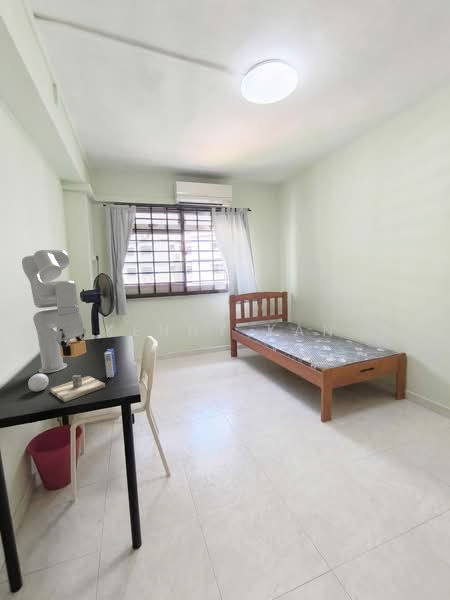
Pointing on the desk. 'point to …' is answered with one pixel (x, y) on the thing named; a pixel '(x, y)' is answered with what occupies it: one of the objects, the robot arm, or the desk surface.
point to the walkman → (110, 363)
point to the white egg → (38, 382)
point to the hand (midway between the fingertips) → (73, 352)
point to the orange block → (75, 348)
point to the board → (77, 387)
